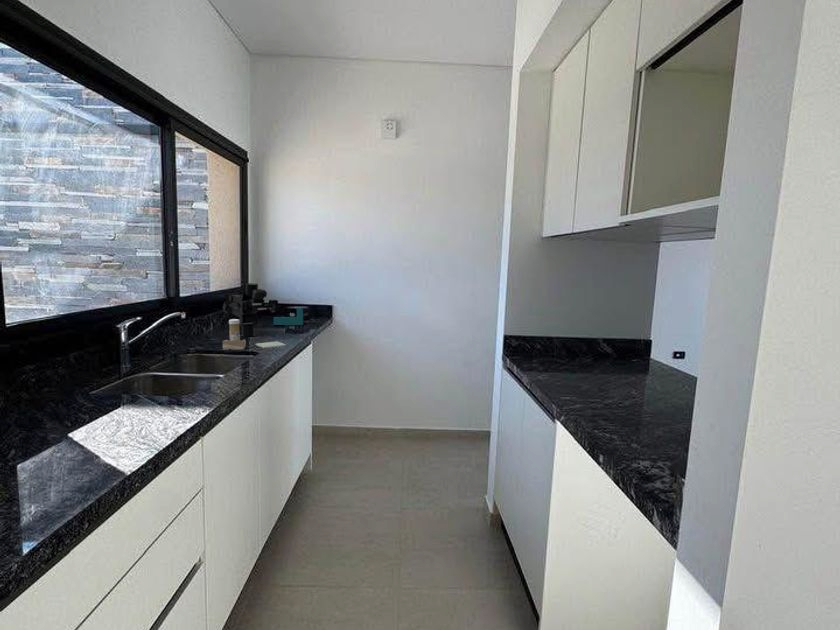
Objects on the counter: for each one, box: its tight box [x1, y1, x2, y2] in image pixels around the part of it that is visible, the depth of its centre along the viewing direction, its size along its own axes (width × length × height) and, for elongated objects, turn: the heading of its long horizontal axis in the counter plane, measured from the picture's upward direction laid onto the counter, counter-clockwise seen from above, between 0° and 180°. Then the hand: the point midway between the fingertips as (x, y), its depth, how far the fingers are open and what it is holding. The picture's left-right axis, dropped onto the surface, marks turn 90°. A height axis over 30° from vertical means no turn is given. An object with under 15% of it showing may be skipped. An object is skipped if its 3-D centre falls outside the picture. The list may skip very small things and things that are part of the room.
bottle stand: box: [222, 339, 247, 351], centre depth 216 cm, size 6×9×4 cm, turn 101°
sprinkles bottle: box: [228, 318, 241, 341], centre depth 217 cm, size 5×5×14 cm
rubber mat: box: [255, 341, 287, 349], centre depth 224 cm, size 11×11×1 cm
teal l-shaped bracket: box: [273, 308, 304, 326], centre depth 296 cm, size 18×11×10 cm, turn 106°
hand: (266, 309), depth 230 cm, fingers open, 9 cm apart
